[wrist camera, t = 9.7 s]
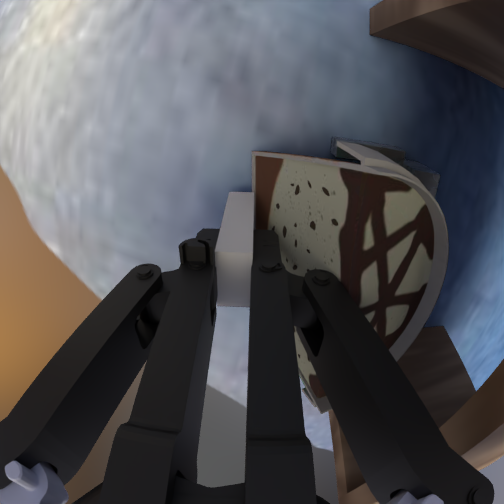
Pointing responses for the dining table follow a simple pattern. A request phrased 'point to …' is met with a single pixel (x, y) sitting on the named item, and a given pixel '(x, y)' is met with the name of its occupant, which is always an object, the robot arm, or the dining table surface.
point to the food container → (356, 238)
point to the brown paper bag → (436, 338)
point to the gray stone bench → (396, 155)
